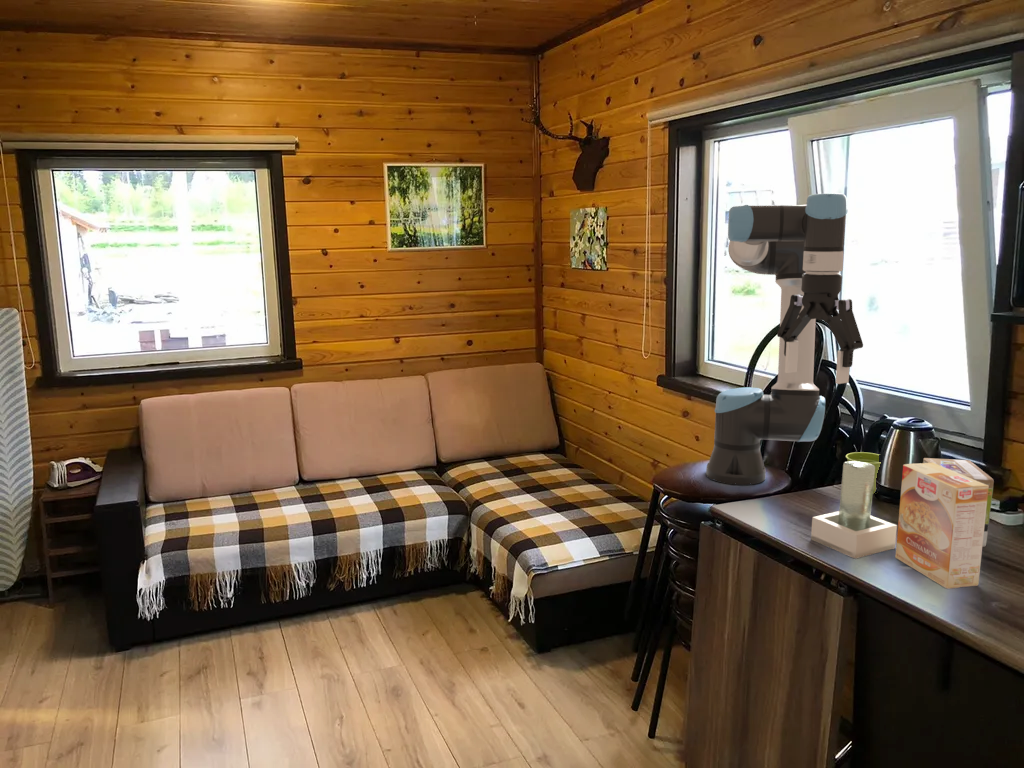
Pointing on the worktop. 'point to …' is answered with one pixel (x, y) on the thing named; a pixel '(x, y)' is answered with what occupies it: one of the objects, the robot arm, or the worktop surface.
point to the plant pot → (866, 458)
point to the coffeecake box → (941, 524)
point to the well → (853, 536)
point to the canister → (856, 495)
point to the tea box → (974, 473)
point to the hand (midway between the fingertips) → (815, 377)
